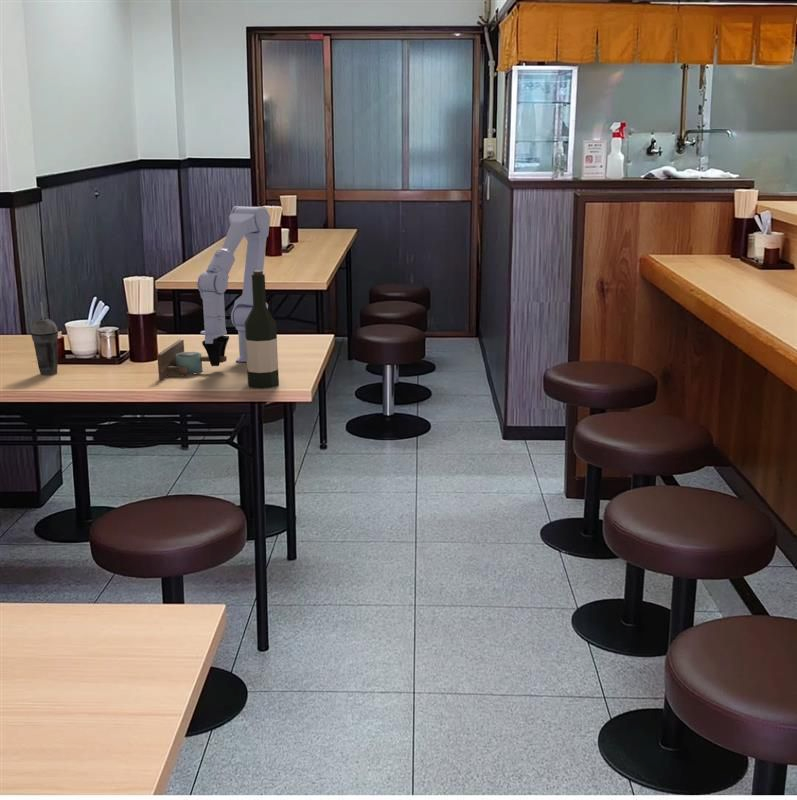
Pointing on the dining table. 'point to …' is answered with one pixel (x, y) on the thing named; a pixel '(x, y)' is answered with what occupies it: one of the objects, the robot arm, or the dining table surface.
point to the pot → (193, 361)
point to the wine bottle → (261, 339)
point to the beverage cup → (45, 344)
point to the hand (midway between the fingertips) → (217, 364)
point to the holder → (171, 361)
